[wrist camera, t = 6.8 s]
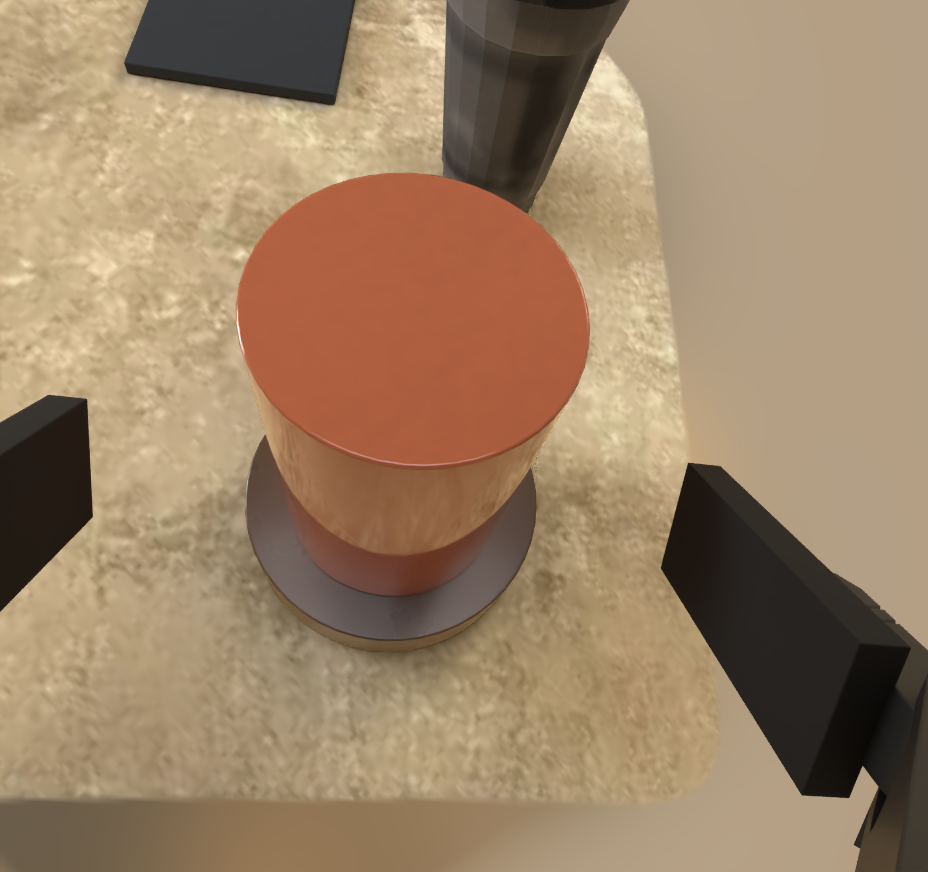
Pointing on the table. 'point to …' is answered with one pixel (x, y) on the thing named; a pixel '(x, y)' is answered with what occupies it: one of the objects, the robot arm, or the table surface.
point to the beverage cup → (516, 86)
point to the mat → (246, 45)
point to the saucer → (373, 615)
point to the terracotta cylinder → (407, 369)
